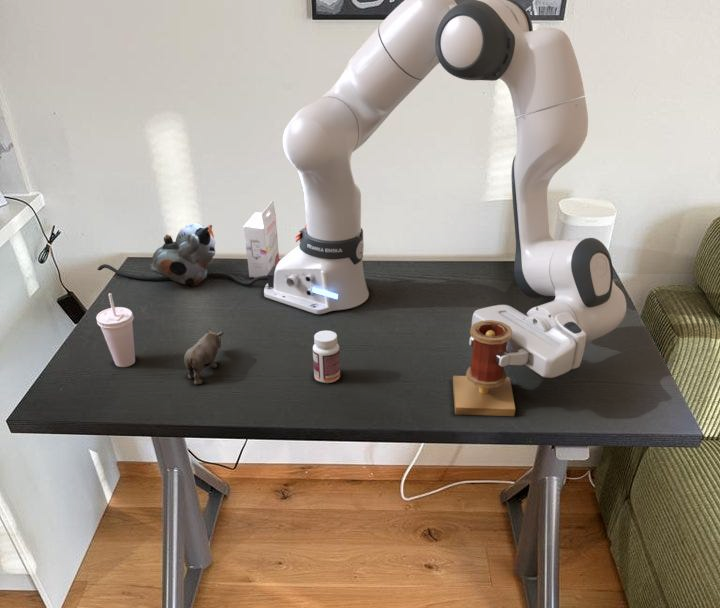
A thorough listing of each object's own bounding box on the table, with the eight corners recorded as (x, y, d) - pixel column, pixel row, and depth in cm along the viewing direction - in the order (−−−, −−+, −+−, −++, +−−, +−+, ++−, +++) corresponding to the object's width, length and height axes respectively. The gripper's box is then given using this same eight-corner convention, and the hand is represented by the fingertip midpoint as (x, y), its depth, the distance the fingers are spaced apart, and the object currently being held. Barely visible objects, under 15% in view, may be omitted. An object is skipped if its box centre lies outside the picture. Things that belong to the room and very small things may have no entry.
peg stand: (454, 414, 129) (461, 345, 120) (452, 382, 137) (458, 315, 128) (514, 416, 129) (525, 347, 120) (508, 384, 136) (518, 316, 128)
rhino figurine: (233, 348, 146) (230, 320, 142) (202, 386, 136) (198, 357, 132) (213, 345, 147) (209, 317, 143) (181, 383, 137) (176, 353, 133)
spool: (461, 382, 128) (466, 335, 123) (472, 363, 133) (477, 317, 127) (499, 391, 126) (506, 343, 121) (509, 371, 131) (516, 324, 125)
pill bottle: (343, 372, 139) (343, 331, 134) (334, 385, 136) (333, 344, 131) (319, 367, 141) (318, 327, 135) (310, 381, 137) (307, 339, 132)
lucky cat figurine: (160, 262, 176) (181, 204, 170) (209, 285, 177) (230, 228, 172) (139, 271, 162) (160, 209, 157) (191, 296, 163) (214, 235, 158)
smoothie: (112, 374, 139) (94, 304, 130) (103, 358, 143) (86, 289, 134) (146, 365, 141) (131, 296, 132) (137, 349, 146) (122, 281, 137)
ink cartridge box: (259, 261, 176) (253, 197, 167) (280, 263, 175) (275, 199, 166) (247, 277, 170) (241, 212, 160) (269, 279, 169) (263, 214, 159)
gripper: (510, 290, 136) (448, 309, 131) (593, 338, 123) (528, 362, 117) (506, 321, 140) (445, 342, 135) (586, 371, 127) (523, 396, 121)
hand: (485, 351), depth 126 cm, fingers closed on spool, 5 cm apart
